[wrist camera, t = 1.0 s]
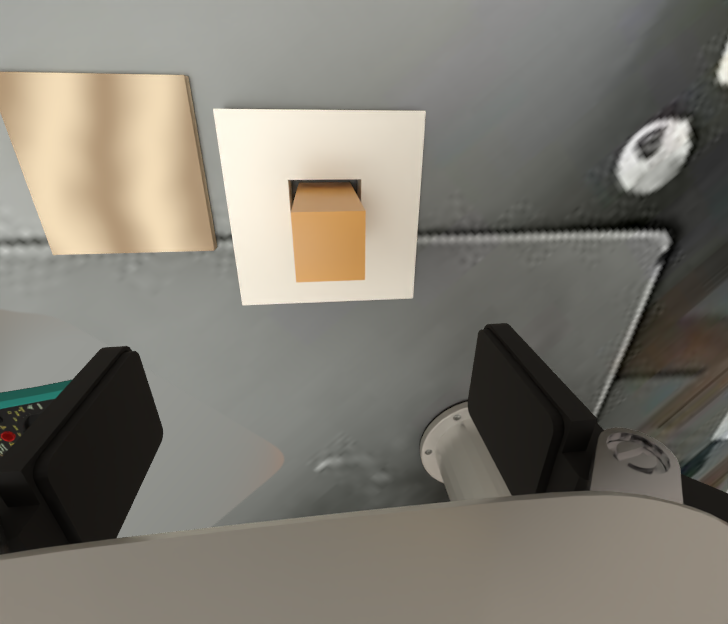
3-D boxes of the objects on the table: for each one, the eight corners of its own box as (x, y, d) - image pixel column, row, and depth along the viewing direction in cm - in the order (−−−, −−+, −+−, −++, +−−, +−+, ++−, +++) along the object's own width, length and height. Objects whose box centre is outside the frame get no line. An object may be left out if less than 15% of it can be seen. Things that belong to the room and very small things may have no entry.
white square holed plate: (415, 111, 29) (425, 110, 26) (405, 284, 35) (412, 298, 32) (223, 110, 27) (213, 108, 25) (248, 290, 34) (242, 305, 31)
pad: (188, 76, 26) (183, 75, 25) (217, 246, 32) (214, 250, 31) (-3, 73, 25) (-15, 71, 24) (60, 250, 30) (53, 254, 29)
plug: (349, 182, 30) (365, 210, 21) (350, 231, 32) (365, 279, 22) (298, 182, 30) (290, 212, 20) (302, 232, 32) (296, 282, 22)
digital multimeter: (-37, 394, 36) (-65, 416, 33) (123, 364, 36) (108, 384, 33) (9, 450, 39) (-13, 474, 36) (155, 422, 39) (144, 444, 37)
